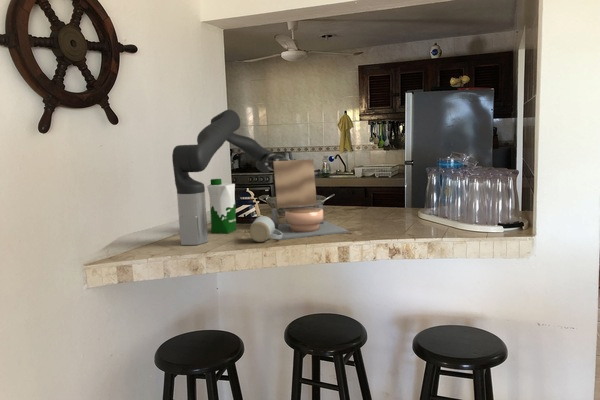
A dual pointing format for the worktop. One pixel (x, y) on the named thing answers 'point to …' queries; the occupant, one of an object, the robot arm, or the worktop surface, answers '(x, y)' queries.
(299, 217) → the terracotta bowl
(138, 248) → the worktop surface
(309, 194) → the cover sheet
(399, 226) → the worktop surface
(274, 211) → the hinge posts
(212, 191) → the milk carton
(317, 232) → the slate mat
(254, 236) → the ceramic mug
